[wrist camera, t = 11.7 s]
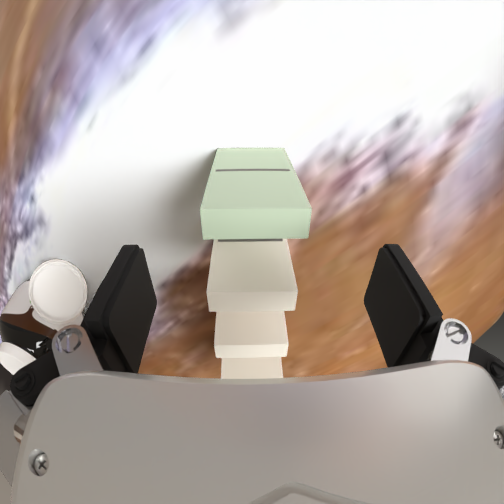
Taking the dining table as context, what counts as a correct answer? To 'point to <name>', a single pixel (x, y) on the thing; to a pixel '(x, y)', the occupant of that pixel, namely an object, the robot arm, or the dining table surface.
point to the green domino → (254, 197)
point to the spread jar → (40, 312)
